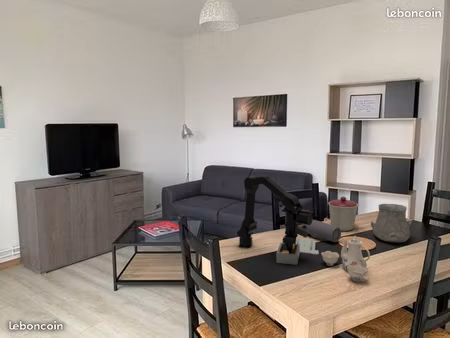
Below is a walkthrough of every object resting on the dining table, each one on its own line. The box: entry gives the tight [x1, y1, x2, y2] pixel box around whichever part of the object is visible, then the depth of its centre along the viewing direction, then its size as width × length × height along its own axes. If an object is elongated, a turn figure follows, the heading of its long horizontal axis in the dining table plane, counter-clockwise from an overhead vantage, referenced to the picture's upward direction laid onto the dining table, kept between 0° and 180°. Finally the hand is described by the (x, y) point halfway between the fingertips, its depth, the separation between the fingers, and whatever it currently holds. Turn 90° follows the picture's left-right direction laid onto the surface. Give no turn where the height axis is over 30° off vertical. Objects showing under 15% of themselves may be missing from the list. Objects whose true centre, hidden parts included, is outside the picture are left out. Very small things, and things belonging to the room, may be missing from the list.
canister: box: [327, 196, 359, 232], centre depth 215 cm, size 18×18×21 cm
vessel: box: [370, 203, 412, 244], centre depth 193 cm, size 22×22×20 cm
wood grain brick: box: [282, 244, 295, 254], centre depth 171 cm, size 6×5×7 cm
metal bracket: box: [296, 237, 319, 255], centre depth 183 cm, size 14×6×15 cm
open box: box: [275, 242, 301, 266], centre depth 171 cm, size 10×15×5 cm, turn 163°
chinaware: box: [320, 235, 371, 283], centre depth 155 cm, size 28×17×17 cm, turn 28°
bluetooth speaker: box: [300, 219, 342, 243], centre depth 199 cm, size 23×9×10 cm, turn 35°
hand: (290, 251), depth 171 cm, fingers closed on wood grain brick, 5 cm apart
